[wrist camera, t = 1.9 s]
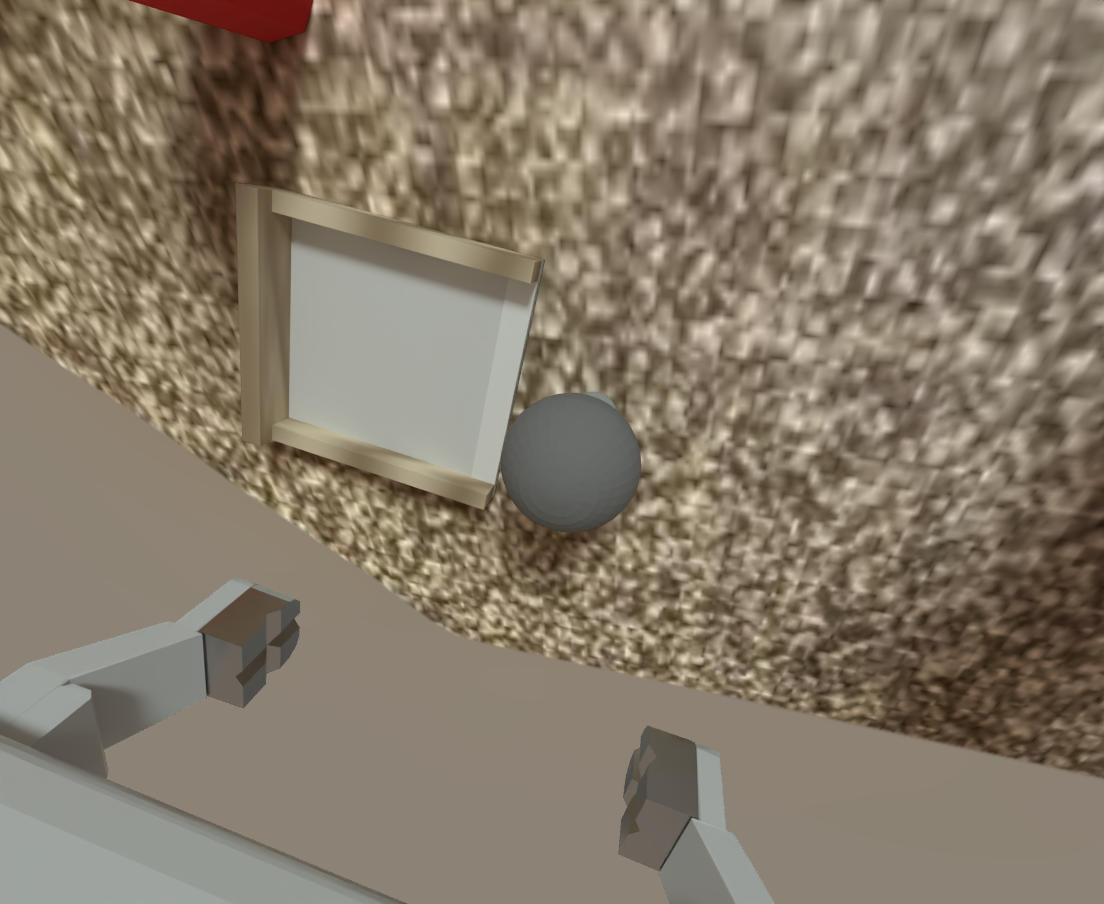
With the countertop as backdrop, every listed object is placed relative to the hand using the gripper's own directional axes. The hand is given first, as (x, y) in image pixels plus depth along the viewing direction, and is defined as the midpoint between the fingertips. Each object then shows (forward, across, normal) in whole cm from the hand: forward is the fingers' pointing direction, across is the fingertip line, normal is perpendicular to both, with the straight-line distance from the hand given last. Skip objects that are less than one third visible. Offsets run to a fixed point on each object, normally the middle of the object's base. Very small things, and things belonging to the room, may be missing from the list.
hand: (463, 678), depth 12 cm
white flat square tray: (+19, +12, 0) cm, 23 cm away
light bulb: (+19, 0, 0) cm, 19 cm away
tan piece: (+19, +12, 0) cm, 23 cm away
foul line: (+19, +5, 0) cm, 20 cm away
